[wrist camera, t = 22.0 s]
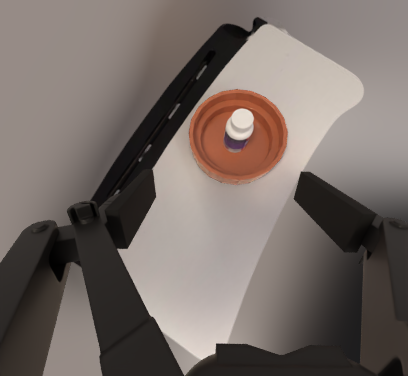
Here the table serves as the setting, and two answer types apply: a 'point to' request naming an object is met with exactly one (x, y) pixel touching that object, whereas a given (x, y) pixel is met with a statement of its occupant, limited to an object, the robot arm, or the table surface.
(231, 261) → the table surface
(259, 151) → the bowl
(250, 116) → the pill bottle
